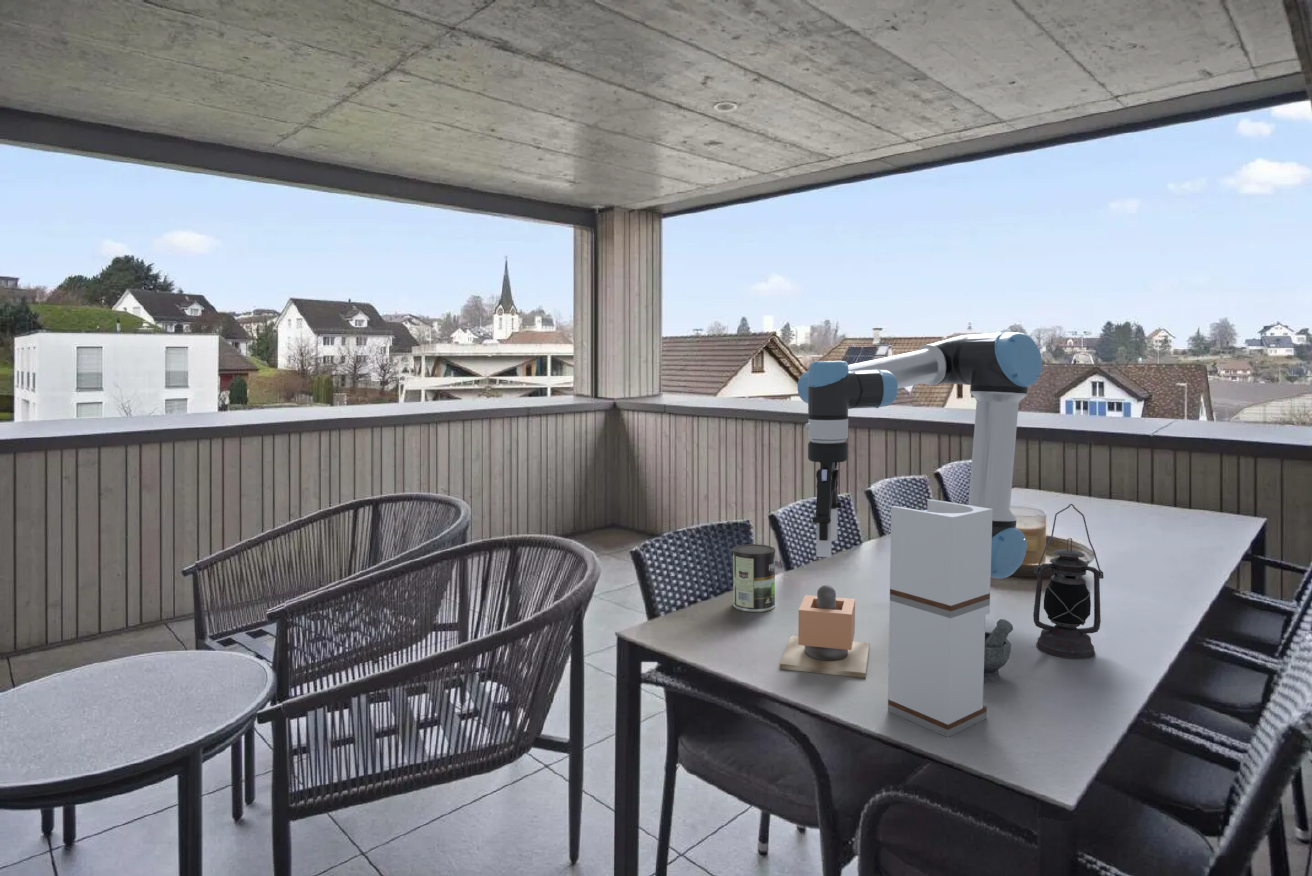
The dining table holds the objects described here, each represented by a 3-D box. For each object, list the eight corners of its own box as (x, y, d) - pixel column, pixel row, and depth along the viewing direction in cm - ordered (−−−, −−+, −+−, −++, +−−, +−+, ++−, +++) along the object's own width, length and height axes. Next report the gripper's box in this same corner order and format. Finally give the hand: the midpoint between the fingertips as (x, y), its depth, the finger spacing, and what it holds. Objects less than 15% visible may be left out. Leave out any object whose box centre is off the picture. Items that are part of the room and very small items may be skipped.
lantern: (1094, 643, 159) (1100, 500, 156) (1105, 662, 149) (1112, 509, 146) (1028, 637, 163) (1033, 497, 160) (1035, 655, 153) (1040, 506, 150)
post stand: (869, 647, 158) (870, 577, 157) (865, 678, 143) (866, 600, 142) (791, 640, 163) (791, 571, 162) (779, 668, 148) (779, 593, 147)
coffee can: (776, 600, 191) (776, 544, 189) (774, 613, 181) (774, 554, 179) (734, 598, 193) (734, 543, 191) (730, 611, 183) (730, 553, 181)
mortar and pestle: (942, 670, 146) (943, 608, 145) (977, 661, 150) (979, 601, 149) (990, 692, 136) (992, 626, 135) (1027, 682, 140) (1029, 618, 139)
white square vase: (986, 718, 126) (992, 508, 123) (947, 736, 120) (953, 517, 117) (926, 694, 136) (930, 499, 132) (887, 710, 130) (891, 506, 126)
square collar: (854, 632, 156) (855, 598, 155) (851, 650, 146) (851, 614, 146) (804, 627, 159) (805, 594, 158) (798, 644, 149) (798, 609, 149)
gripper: (815, 434, 162) (814, 533, 164) (799, 447, 138) (799, 562, 140) (851, 434, 160) (851, 535, 162) (842, 448, 136) (841, 565, 138)
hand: (827, 548), depth 151 cm, fingers open, 13 cm apart
